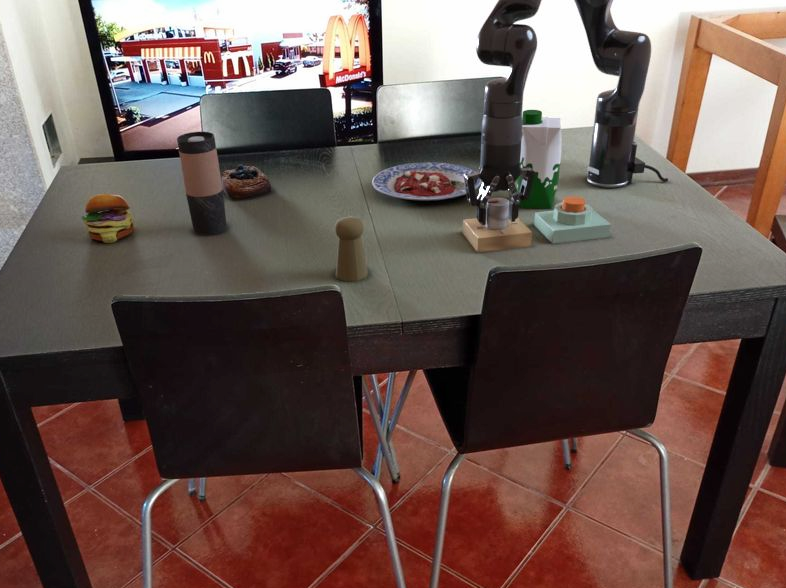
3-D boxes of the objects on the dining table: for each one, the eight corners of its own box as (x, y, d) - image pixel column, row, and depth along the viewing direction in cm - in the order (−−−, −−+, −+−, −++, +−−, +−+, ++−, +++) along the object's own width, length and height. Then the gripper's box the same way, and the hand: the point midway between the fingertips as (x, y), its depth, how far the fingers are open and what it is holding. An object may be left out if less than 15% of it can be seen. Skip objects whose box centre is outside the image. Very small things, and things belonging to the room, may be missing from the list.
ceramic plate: (355, 201, 175) (355, 189, 173) (394, 167, 195) (394, 155, 193) (463, 213, 166) (464, 200, 164) (493, 176, 186) (493, 164, 184)
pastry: (260, 179, 190) (258, 156, 187) (276, 194, 181) (274, 170, 178) (218, 187, 187) (214, 164, 183) (232, 202, 177) (228, 178, 174)
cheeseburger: (84, 247, 158) (73, 198, 155) (92, 239, 168) (82, 194, 165) (134, 241, 159) (124, 192, 156) (139, 233, 169) (130, 188, 166)
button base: (587, 219, 161) (590, 196, 158) (609, 237, 152) (612, 213, 150) (534, 225, 159) (535, 202, 156) (552, 243, 151) (554, 220, 148)
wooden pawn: (334, 268, 145) (331, 213, 139) (366, 266, 145) (364, 211, 139) (336, 282, 140) (332, 226, 134) (369, 280, 140) (366, 224, 134)
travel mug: (234, 223, 166) (221, 132, 155) (217, 237, 160) (202, 143, 149) (203, 220, 168) (188, 130, 158) (185, 234, 162) (169, 140, 152)
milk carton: (515, 195, 174) (521, 106, 164) (556, 196, 173) (564, 107, 162) (514, 209, 167) (520, 117, 157) (556, 210, 165) (565, 118, 155)
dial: (503, 220, 154) (505, 195, 151) (511, 228, 150) (512, 202, 148) (482, 222, 153) (483, 197, 151) (489, 230, 150) (491, 205, 147)
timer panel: (513, 227, 158) (514, 213, 157) (530, 246, 150) (532, 231, 148) (462, 233, 157) (463, 218, 155) (477, 252, 148) (478, 237, 147)
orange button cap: (578, 204, 155) (579, 195, 154) (588, 212, 152) (589, 202, 151) (558, 207, 155) (559, 197, 154) (567, 214, 151) (568, 205, 150)
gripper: (530, 129, 147) (524, 211, 156) (458, 135, 145) (456, 219, 154) (545, 139, 140) (538, 225, 149) (470, 147, 138) (467, 233, 147)
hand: (496, 221), depth 151 cm, fingers open, 5 cm apart
